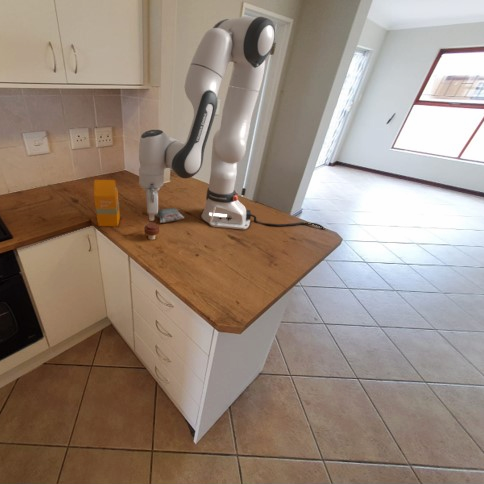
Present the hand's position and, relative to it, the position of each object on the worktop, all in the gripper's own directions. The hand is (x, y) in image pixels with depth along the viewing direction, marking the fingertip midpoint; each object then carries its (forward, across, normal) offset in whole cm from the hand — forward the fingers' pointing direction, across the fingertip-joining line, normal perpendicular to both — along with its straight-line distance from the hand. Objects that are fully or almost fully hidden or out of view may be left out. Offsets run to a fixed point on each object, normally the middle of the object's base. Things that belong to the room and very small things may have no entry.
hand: (150, 213), depth 97 cm
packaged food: (+11, +15, -10) cm, 21 cm away
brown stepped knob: (+11, 0, -1) cm, 11 cm away
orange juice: (+12, +15, +18) cm, 26 cm away
